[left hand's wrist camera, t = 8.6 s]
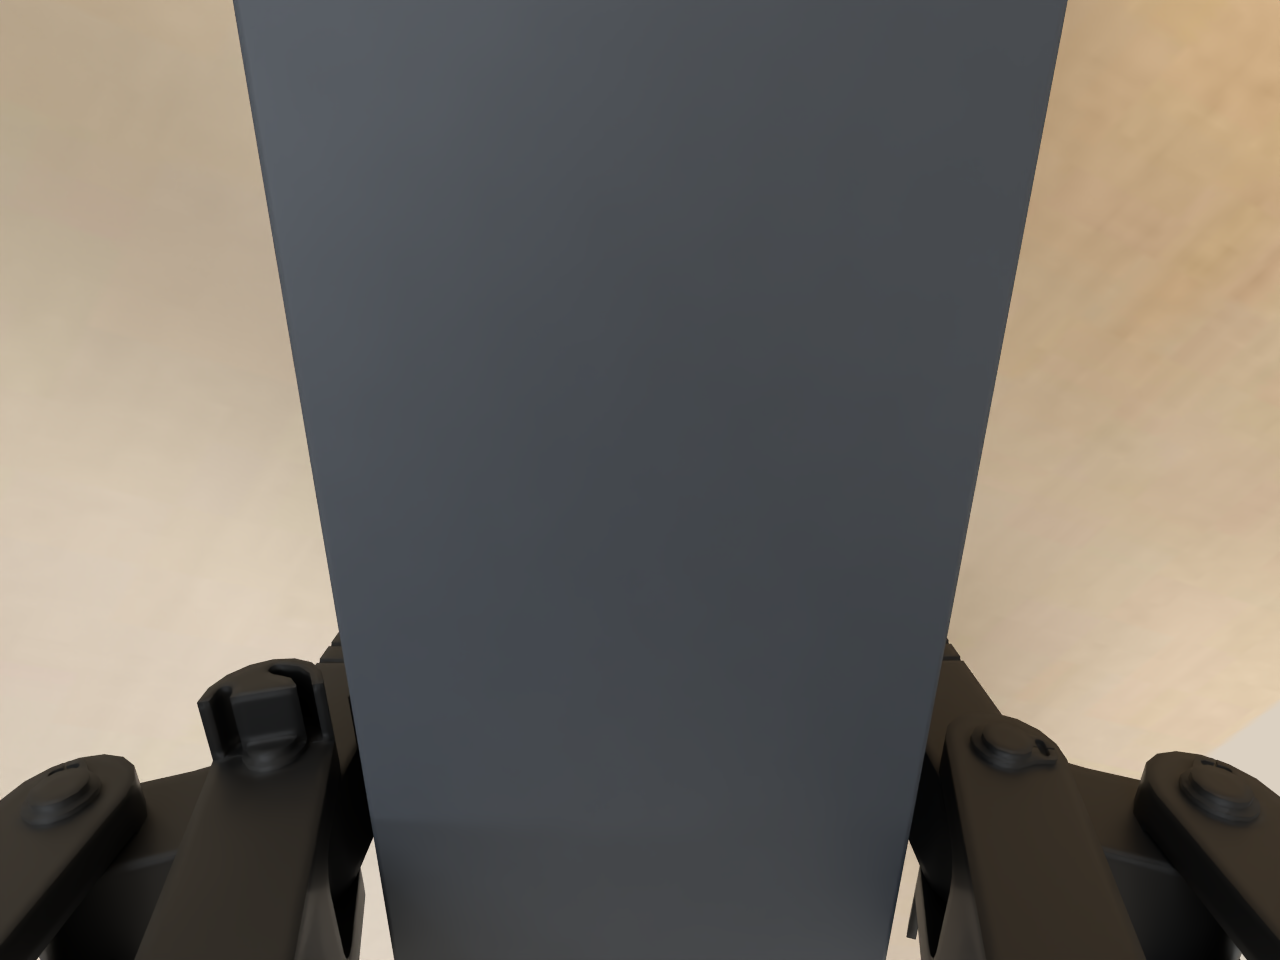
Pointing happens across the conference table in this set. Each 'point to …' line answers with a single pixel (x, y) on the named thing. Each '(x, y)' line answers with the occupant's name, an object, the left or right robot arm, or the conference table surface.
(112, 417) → the conference table surface
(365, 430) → the post
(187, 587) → the conference table surface
